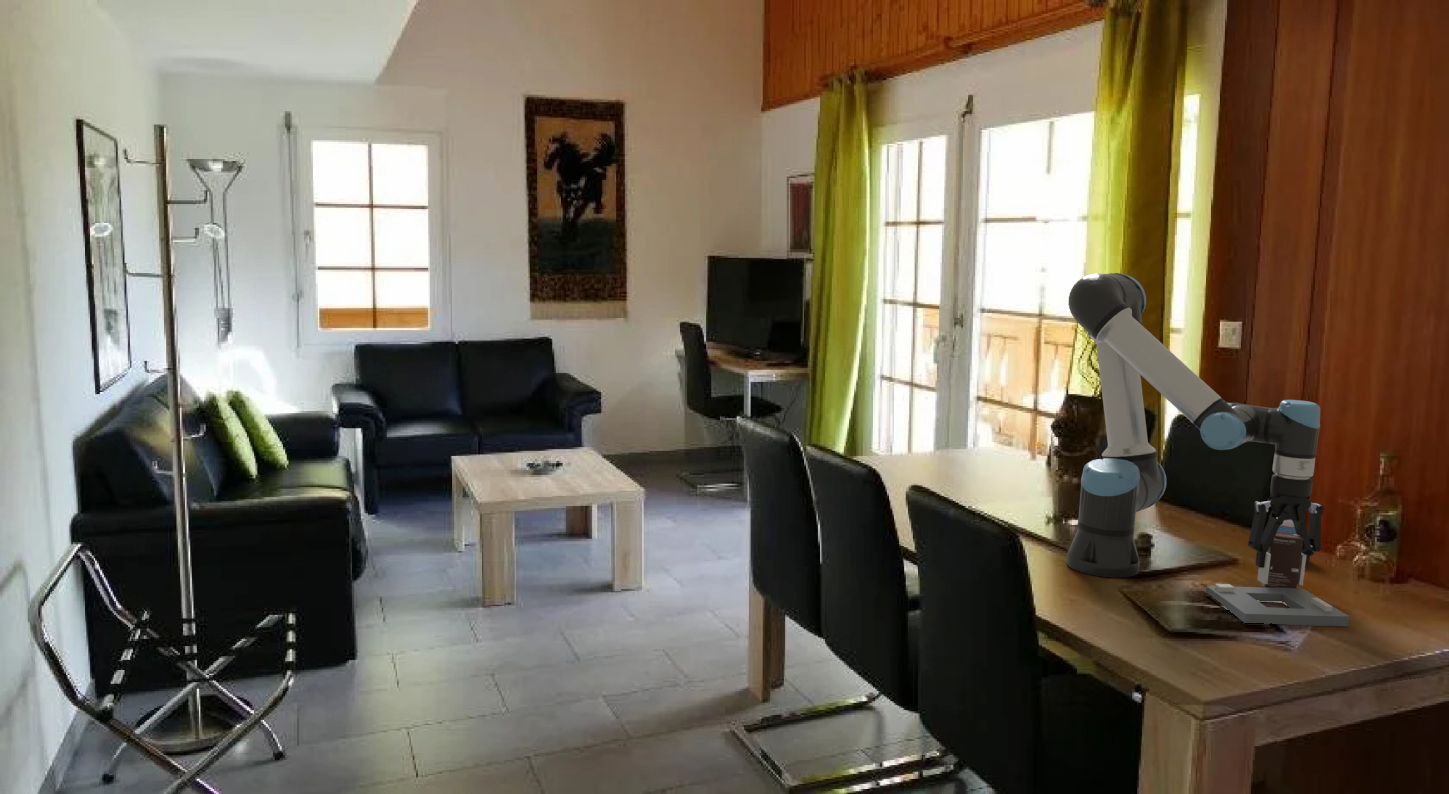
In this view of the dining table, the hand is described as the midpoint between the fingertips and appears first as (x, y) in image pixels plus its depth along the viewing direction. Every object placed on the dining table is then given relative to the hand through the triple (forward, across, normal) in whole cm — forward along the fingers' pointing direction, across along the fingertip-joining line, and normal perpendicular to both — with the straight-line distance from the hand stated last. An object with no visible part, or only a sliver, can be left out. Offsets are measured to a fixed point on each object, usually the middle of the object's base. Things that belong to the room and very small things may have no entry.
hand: (1279, 582), depth 223 cm
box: (+2, 0, 0) cm, 2 cm away
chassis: (+2, -8, -13) cm, 15 cm away
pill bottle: (+2, +15, +25) cm, 29 cm away
